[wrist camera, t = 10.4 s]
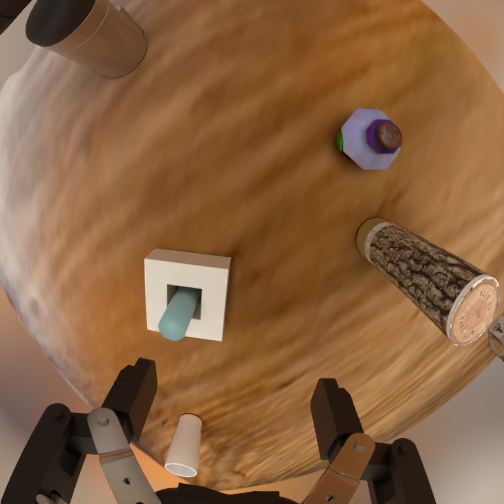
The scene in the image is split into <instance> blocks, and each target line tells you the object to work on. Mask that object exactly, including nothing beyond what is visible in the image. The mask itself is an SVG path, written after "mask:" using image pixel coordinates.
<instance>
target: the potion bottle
mask: <svg viewBox="0 0 504 504" xmlns="http://www.w3.org/2000/svg"><path fill="white" fill-rule="evenodd" d="M336 142H337V146H338V149H339V150H340V151H341V152H342V153H343V154H344V155H345V156H346V157H347V158H348V159H349V160H353V161H354V162H355V163H356V164H357V165H358V166H360V167H361V168H362V169H364V170H380V169H388V167H389V166H390V165H391V163H392V162H393V161H394V159H395V158H396V157H397V155H398V154H399V153H400V146H401V144H402V135H401V132H400V130H399V128H398V127H397V126H396V125H395V124H394V123H393V122H392V121H391V120H390V119H389V118H388V117H387V116H386V115H385V114H384V113H383V112H382V111H381V110H380V109H356V111H355V112H354V113H353V114H352V115H351V117H350V118H349V119H348V120H347V121H346V123H345V124H344V125H343V126H342V128H341V130H340V131H339V132H338V134H337V140H336Z"/></svg>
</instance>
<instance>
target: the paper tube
mask: <svg viewBox="0 0 504 504" xmlns="http://www.w3.org/2000/svg"><path fill="white" fill-rule="evenodd" d="M356 242H357V247H358V250H359V251H360V253H361V254H362V255H363V256H364V257H365V258H366V259H367V260H368V261H370V263H372V264H373V265H374V266H375V267H376V268H377V269H378V270H379V271H380V272H381V273H383V274H384V275H385V276H386V277H387V278H388V279H389V280H390V281H391V282H392V283H393V284H394V285H395V286H397V287H398V288H399V289H400V290H401V291H402V292H403V293H404V294H405V295H406V296H407V297H408V298H409V299H410V300H411V301H412V302H413V303H414V304H415V305H416V306H417V307H418V308H419V309H420V310H421V311H422V312H423V313H424V314H425V315H426V316H427V317H428V318H429V319H430V320H431V321H432V322H433V323H434V324H435V325H436V326H437V327H438V328H439V329H440V330H441V331H442V332H443V333H444V334H445V335H446V336H447V338H448V339H449V340H450V341H452V342H453V343H454V344H455V345H457V346H464V345H467V344H469V343H471V342H473V341H474V340H476V339H477V338H478V337H479V336H480V335H481V334H482V333H483V332H484V331H485V330H486V328H487V327H488V326H489V324H490V322H491V321H492V319H493V317H494V315H495V313H496V310H497V307H498V303H499V298H500V289H499V285H498V282H497V281H496V280H495V279H494V278H493V277H491V276H490V275H488V274H487V273H485V272H483V271H482V270H480V269H478V268H477V267H475V266H473V265H472V264H470V263H468V262H466V261H465V260H463V259H461V258H459V257H458V256H456V255H454V254H452V253H450V252H449V251H447V250H445V249H443V248H441V247H439V246H437V245H435V244H434V243H432V242H430V241H428V240H426V239H424V238H422V237H420V236H418V235H416V234H414V233H412V232H410V231H408V230H406V229H404V228H402V227H400V226H397V225H395V224H393V223H391V222H389V221H386V220H384V219H382V218H372V219H369V220H368V221H366V222H365V223H364V224H363V225H362V226H361V227H360V229H359V231H358V234H357V239H356Z"/></svg>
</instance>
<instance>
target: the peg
mask: <svg viewBox="0 0 504 504" xmlns="http://www.w3.org/2000/svg"><path fill="white" fill-rule="evenodd" d="M201 292H202V289H200V288H192V287H185V286H179V288H178V289H177V291H176V293H175V295H174V296H173V298H172V300H171V302H170V303H169V305H168V307H167V309H166V310H165V312H164V314H163V316H162V318H161V319H160V321H159V323H158V328H159V331H160V333H161V334H162V335H163V336H164V337H165V338H167V339H169V340H173V341H177V340H180V339H182V338H183V337H184V336H185V334H186V331H187V329H188V326H189V323H190V321H191V318H192V315H193V313H194V310H195V308H196V305H197V302H198V300H199V297H200V295H201Z"/></svg>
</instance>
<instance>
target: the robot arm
mask: <svg viewBox="0 0 504 504" xmlns="http://www.w3.org/2000/svg"><path fill="white" fill-rule="evenodd" d="M31 1H32V0H0V35H1V34H2V33H3V32H4V31H5V30H6V29H7V28H8V27H9V25H10V24H11V23H12V22H13V21H14V20H15V19H16V17H17V16H18V15H19V14H20V13H21V12H22V11H23V9H24V8H25V7H26V6H27V5H28V4H29V3H30V2H31ZM143 31H144V30H143V29H142V28H141V27H140V26H139V24H138V23H137V22H136V21H135V20H134V19H133V18H132V17H131V16H130V15H129V13H128V12H127V11H126V10H125V9H124V8H123V7H122V6H114V5H113V4H112V3H111V2H110V1H109V0H37V2H36V4H35V5H34V7H33V9H32V11H31V13H30V15H29V17H28V20H27V24H26V36H27V38H28V39H29V40H30V41H31V42H32V43H34V44H37V45H39V46H41V47H44V48H46V49H49V50H51V51H53V52H56V53H58V54H60V55H62V56H64V57H67V58H69V59H71V60H73V61H75V62H77V63H79V64H81V65H83V66H85V67H88V68H90V69H92V70H94V71H95V72H97V73H99V74H101V75H103V76H105V77H108V78H118V77H122V76H124V75H126V74H128V73H130V72H131V71H132V70H134V69H135V68H136V67H137V66H138V65H139V64H140V62H141V61H142V59H143V58H144V55H145V53H146V49H147V42H146V39H145V38H144V36H143ZM156 391H157V374H156V365H155V361H154V360H150V359H146V358H141V357H140V358H139V359H138V360H137V362H136V364H135V366H131V365H128V366H126V367H125V368H124V369H122V370H121V371H120V373H119V375H118V377H117V379H116V380H115V382H114V385H113V386H112V388H111V389H110V391H109V393H108V395H107V397H106V399H105V401H104V402H103V404H102V406H101V407H100V408H96V409H94V410H92V411H91V412H90V413H88V414H84V413H73V412H70V410H69V408H68V407H67V406H65V405H63V404H60V403H55V404H51V405H50V406H48V407H47V408H46V410H45V411H44V413H43V415H42V417H41V418H40V420H39V422H38V424H37V425H36V427H35V429H34V431H33V433H32V435H31V436H30V439H29V440H28V442H27V444H26V446H25V448H24V450H23V452H22V454H21V456H20V458H19V460H18V462H17V465H16V466H15V469H14V471H13V473H12V475H11V477H10V480H9V482H8V484H7V487H6V489H5V492H4V494H3V497H2V499H1V504H70V502H71V498H72V495H73V492H74V489H75V486H76V483H77V480H78V477H79V474H80V471H81V468H82V466H83V463H84V460H85V458H86V455H87V454H95V455H96V454H97V455H99V461H100V464H101V467H102V469H103V472H104V474H105V477H106V479H107V481H108V484H109V486H110V488H111V490H112V492H113V495H114V497H115V499H116V501H117V503H118V504H299V503H296V502H295V501H293V500H290V499H288V498H284V497H280V496H279V491H252V492H246V493H239V494H231V495H228V494H224V493H221V492H218V491H215V490H212V489H209V488H206V487H202V486H196V485H190V484H184V483H179V485H178V488H167V489H163V490H160V491H157V492H154V490H153V489H152V487H151V485H150V483H149V482H148V480H147V478H146V476H145V474H144V473H143V471H142V469H141V467H140V465H139V463H138V461H137V459H136V457H135V455H134V453H133V451H132V450H131V448H130V446H129V444H130V442H131V440H133V441H136V442H138V441H139V438H140V435H141V433H142V430H143V427H144V424H145V421H146V419H147V416H148V413H149V410H150V408H151V405H152V402H153V400H154V397H155V394H156ZM311 413H312V418H313V422H314V427H315V432H316V437H317V442H318V447H319V452H320V458H321V460H329V466H328V467H327V469H326V470H325V471H324V473H323V474H322V476H321V477H320V479H319V480H318V481H317V483H316V484H315V485H314V487H313V488H312V490H311V491H310V492H309V493H308V495H307V496H306V497H305V498H304V499H303V501H302V502H301V503H300V504H349V502H350V500H351V499H352V497H353V495H354V493H355V492H356V490H357V488H358V486H359V484H360V481H359V480H367V482H368V487H369V492H370V497H371V502H372V504H436V502H435V499H434V495H433V492H432V489H431V487H430V483H429V480H428V478H427V475H426V472H425V469H424V467H423V464H422V461H421V458H420V455H419V453H418V450H417V448H416V445H415V444H414V443H413V442H412V441H411V440H409V439H406V438H400V439H397V440H395V441H394V442H393V443H392V444H385V443H377V442H374V440H373V439H372V438H371V437H370V436H369V435H367V434H364V431H363V429H362V426H361V423H360V420H359V417H358V415H357V412H356V410H355V406H354V404H353V401H352V398H351V395H350V394H349V393H348V392H347V391H346V390H345V389H344V388H339V387H338V384H337V381H336V379H335V378H320V379H319V381H318V383H317V386H316V389H315V391H314V394H313V396H312V399H311Z"/></svg>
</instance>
